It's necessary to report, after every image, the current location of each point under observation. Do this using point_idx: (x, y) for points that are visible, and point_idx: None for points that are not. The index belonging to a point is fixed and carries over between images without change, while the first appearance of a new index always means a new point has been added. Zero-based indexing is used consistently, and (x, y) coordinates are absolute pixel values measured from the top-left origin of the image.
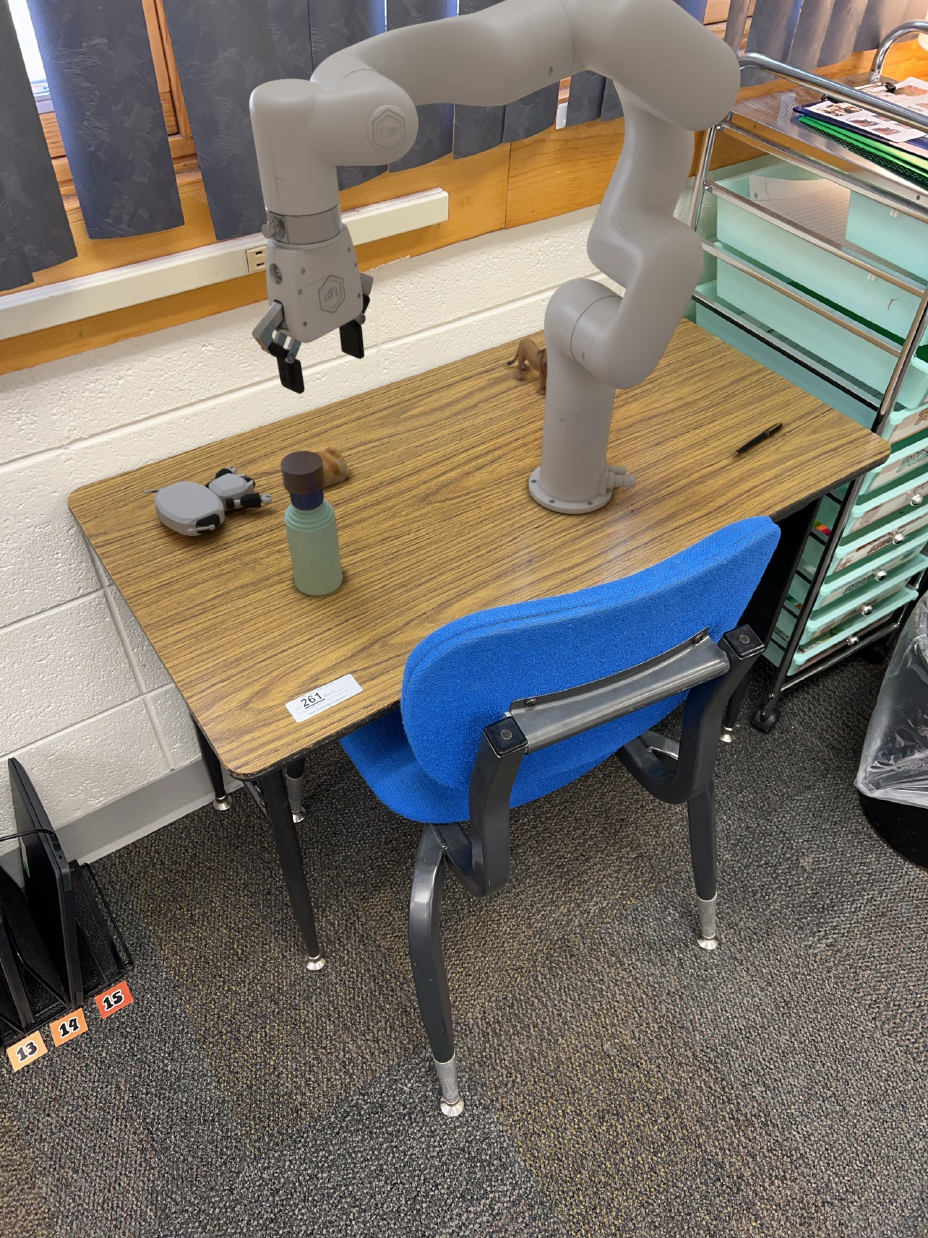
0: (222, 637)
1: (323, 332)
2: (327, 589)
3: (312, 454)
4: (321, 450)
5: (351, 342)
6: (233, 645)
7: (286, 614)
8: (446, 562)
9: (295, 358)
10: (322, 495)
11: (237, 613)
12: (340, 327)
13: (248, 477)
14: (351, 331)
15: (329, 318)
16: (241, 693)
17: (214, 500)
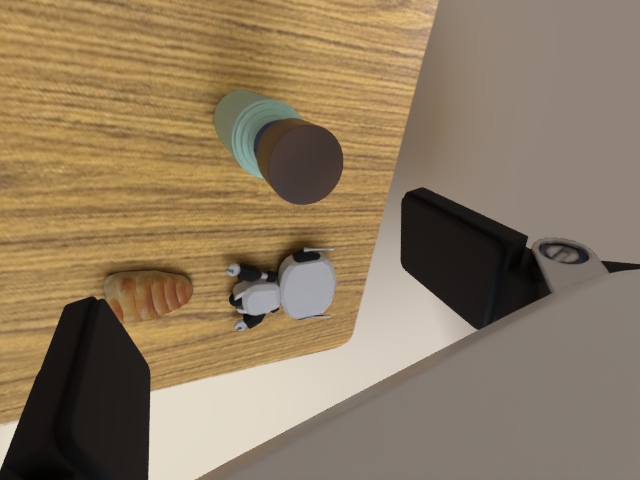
0: (365, 111)
1: (545, 328)
2: (249, 91)
3: (277, 177)
4: (128, 321)
5: (115, 378)
6: (365, 92)
7: (303, 95)
8: (43, 13)
9: (535, 252)
10: (264, 129)
11: (338, 133)
12: (143, 473)
13: (235, 305)
14: (101, 434)
15: (603, 475)
16: (397, 21)
17: (290, 280)
